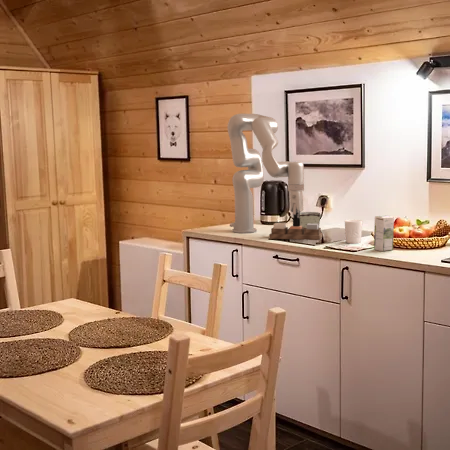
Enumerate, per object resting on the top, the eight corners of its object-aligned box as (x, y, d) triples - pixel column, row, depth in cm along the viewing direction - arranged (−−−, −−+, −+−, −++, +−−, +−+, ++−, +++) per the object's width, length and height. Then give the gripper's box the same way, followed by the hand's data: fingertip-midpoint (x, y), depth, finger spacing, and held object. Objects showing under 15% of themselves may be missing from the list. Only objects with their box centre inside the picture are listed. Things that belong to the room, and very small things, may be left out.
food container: (320, 231, 352) (320, 211, 351) (321, 232, 346) (321, 213, 345) (296, 231, 353) (296, 211, 352) (296, 233, 347) (296, 213, 346)
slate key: (306, 231, 327) (306, 224, 326) (308, 229, 331) (308, 223, 331) (317, 231, 325) (317, 224, 325) (318, 229, 330) (318, 223, 330)
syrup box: (384, 248, 296) (384, 215, 294) (393, 250, 290) (394, 216, 289) (373, 249, 293) (374, 215, 291) (383, 251, 288) (383, 217, 286)
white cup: (344, 241, 318) (344, 219, 317) (362, 241, 317) (362, 219, 316) (344, 243, 310) (344, 221, 309) (362, 243, 309) (362, 221, 308)
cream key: (273, 230, 331) (273, 224, 331) (275, 228, 336) (275, 222, 335) (283, 230, 330) (283, 224, 329) (285, 229, 334) (285, 223, 334)
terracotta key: (289, 233, 329) (289, 226, 329) (291, 231, 334) (291, 225, 333) (300, 233, 328) (300, 227, 327) (302, 231, 332) (302, 225, 332)
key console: (269, 238, 330) (269, 229, 329) (273, 235, 339) (273, 226, 339) (319, 239, 323) (319, 230, 322) (322, 236, 333) (322, 227, 332)
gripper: (301, 189, 320) (301, 228, 322) (306, 186, 334) (306, 224, 336) (285, 189, 322) (285, 228, 324) (291, 187, 336) (291, 224, 338)
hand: (296, 226), depth 330 cm, fingers closed
